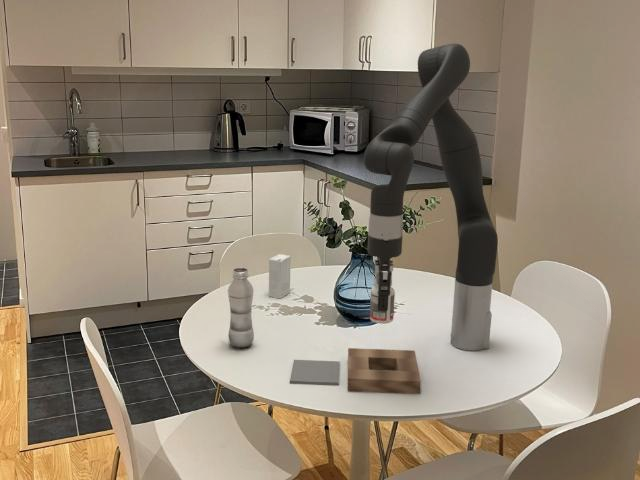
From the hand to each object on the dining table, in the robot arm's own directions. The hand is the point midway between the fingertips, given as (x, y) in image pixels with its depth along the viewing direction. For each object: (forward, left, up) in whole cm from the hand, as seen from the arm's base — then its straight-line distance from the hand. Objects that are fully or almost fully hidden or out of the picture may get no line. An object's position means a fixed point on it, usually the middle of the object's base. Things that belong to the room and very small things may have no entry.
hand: (382, 305), depth 159 cm
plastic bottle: (+34, -14, -18) cm, 41 cm away
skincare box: (+28, -51, -18) cm, 61 cm away
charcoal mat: (+15, 0, -17) cm, 23 cm away
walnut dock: (-1, 0, -17) cm, 17 cm away
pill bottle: (0, 0, -4) cm, 4 cm away
